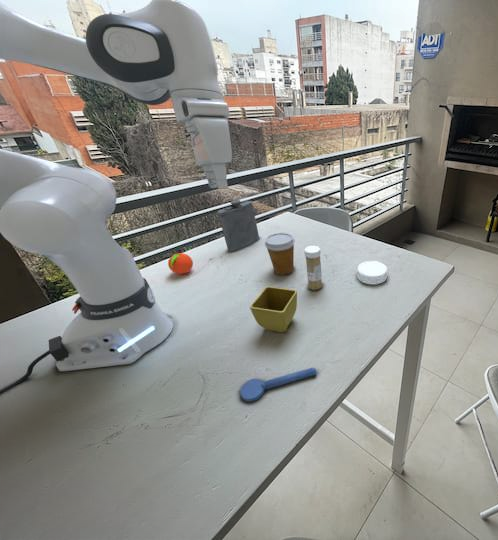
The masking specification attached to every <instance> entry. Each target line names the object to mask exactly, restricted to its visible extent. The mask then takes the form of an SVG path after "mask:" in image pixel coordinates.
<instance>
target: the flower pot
mask: <svg viewBox="0 0 498 540" xmlns="http://www.w3.org/2000/svg"><path fill="white" fill-rule="evenodd" d="M297 307H298V290H296V289H289V288H282V287H277V286H276V287H275V286H265V287H264V288H263V290H262V291H261V292H260V294H259V295H258V296H257V298H255V300H254V301H253V302H252V303H251V304H250V306H249V309H250V311H251V314H252V315H253V317H254V319H255V322H256V323H257V324H258V325H259V326H260V327H262V328H263V329H265V330H267V331H273V332H277V333H278V332H279V333H285V332H286V330H287V329H288V327H289V325H290V323H291V322H292V321H293V318H294V316H295V315H296V311H297Z"/></svg>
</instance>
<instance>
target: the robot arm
mask: <svg viewBox="0 0 498 540" xmlns="http://www.w3.org/2000/svg"><path fill="white" fill-rule="evenodd" d="M0 60H5V61H11V62H16V63H17V62H18V63H23V64H27V65H28V64H29V65H33V66H36V67H40V68H44V69H48V70H53V71H56V72H60V73H63V74H67V75H71V76H75V77H78V78H81V79H86V80H90V81H94V82H96V83H101V84H104V85H106V86H109V87H112V88H113V89H116V90H117V91H119V92H121V93H122V94H124V95H126V96H127V97H128V98H130V99H131V100H134V101H135V102H137V103H141V104H144V105H148V106H159V105H162V104H164V103H166V102H168V101H169V100H170V101H171V104H172V108H173V112H174V116H175V119H176V123H177V124H180V125H183V126H185V129H186V133H188V134H189V137H190V141H191V146H192V151H193V156H194V160H195V164H196V165H197V167H202V169H203V173H204V175H205V178H206V180H207V184H208V187H209V188H210V189H218V190H227V189H228V188H229V184H228V180H227V166H226V164H227V163H231V162H232V159H233V150H232V149H233V148H232V142H231V141H232V140H231V133H230V126H229V118H230V108H229V105H228V103H227V102H226V101H225V99H224V94H223V91H222V89H221V87H220V84H219V80H218V79H219V78H218V74H219V70H218V64H217V58H216V54H215V50H214V46H213V42H212V39H211V35H210V33H209V29H208V27H207V25H206V23H205V21H204V19H203V18H202V15H200V14H199V13H198V12H197V11H196V10H195V9H193V8H192V7H191V6H189V5H187V3H185V2H182V1H180V0H151V1H150V2H149V3H148V4H147V5H146V6H144V7H142V8H139V9H137V10H134V11H131V12H126V13H120V14H119V13H118V14H116V13H115V14H114V13H104V14H101V15H97V16H96V17H94V18H93V19H92V20H91V21H90V22H89V23H88V25H87V28H86V31H85V38H83V37H80V36H77V35H74V34H71V33H67V32H65V31H61V30H59V29H56V28H52V27H49V26H47V25H44V24H41V23H39V22H36V21H34V20H32V19H31V18H28V17H26V16H24V15H22V14H20V13H18V12H16V11H15V10H13V9H11V8H10V7H8V6H7V5H5V4H4V3H1V2H0ZM116 205H117V190H116V188H115V186H114V185H113V183H112V182H111V181H110V180H109V178H107V177H106V176H105V175H103V174H102V173H99V172H98V171H95V170H94V169H93V170H92V169H90V168H85V167H84V168H83V167H76V166H75V167H74V166H69V165H66V164H61V163H58V162H53V161H51V160H46V159H43V158H39V157H35V156H31V155H28V154H23V153H19V152H15V151H11V150H8V149H4V148H0V234H1V235H2V237H3V238H4V239H5V240H7V241H8V243H10V244H11V245H13V246H15V247H16V248H18V249H20V250H22V251H25V252H28V253H31V254H34V255H40V256H43V257H45V258H46V259H48V260H49V261H50V262H52V263H53V264H54V265H55V266H56V267H58V268H59V269H60V270H61V271H62V273H63V274H64V275H65V276H66V277H67V279H68V280H69V282H70V283H71V284H72V286H73V287H74V289H75V290H76V292H77V293H78V295H79V297H78V298H77V299H76V300H75V302H74V303H75V304H74V306H73V307H72V309H71V312H72V311H73V314H77V313H78V311H80V312H79V313H78V314H77V315H76V316H75V317H74V318H73V319H72V320H71V321H70V322H69V323H68V325H67V326H66V327H65V329H64V331H63V333H62V335H58V336H55V337H52V338H50V339H48V350H47V351H45V352H43V354H41V355H39V356H38V357H37V358H35V359H34V360H32V362H30V364H29V365H28V366H27V370H26V373H25V374H24V375H23V376H22V377H20V378H19V379H18V380H16V381H14V382H13V383H11V384H10V385H8V386H6V387H4V388H2V389H0V395H2V394H3V393H5V392H7V391H9V390H10V389H12V388H14V387H16V386H18V385H20V384H21V383H23V382H25V380H27V379H28V378H30V376H31V375H32V373H33V370H34V368H35V366H36V365H37V364H38V363H39V362H41V361H42V360H43V359H45V358H46V357H48V356H49V355H51V356H52V357H53V359H54V360H55V365H56V368H57V369H58V371H59V372H70V371H77V370H78V371H79V370H87V369H95V368H96V369H97V368H105V367H115V366H123V365H130V364H133V363H135V362H137V360H139V359H140V358H141V357H142V356H143V355H144V354H146V353H147V352H149V351H150V350H152V349H154V348H155V347H157V346H158V345H160V344H161V343H163V341H165V340H166V339H167V338H168V337H169V335H170V334H171V332H172V331H173V328H174V322H173V320H172V319H171V318H170V317H169V316H168V315H167V314H166V313H165V312H164V311H163V310H162V308H161V307H160V305H159V304H158V302H157V301H156V296H155V294H154V291H153V289H152V288H151V286H150V284H149V283H148V280H147V279H146V278H144V277H143V275H142V273H141V271H140V268H139V267H138V265H137V263H136V261H135V259H134V256H133V254H132V252H131V251H130V250H129V249H127V248H126V247H124V246H121V245H120V244H119V243H118V242H117V241H116V240H115V238H113V236H112V235H111V234H110V232H109V230H108V228H107V223H106V222H107V220H108V219H109V217H110V216H111V215H112V214H113V213H114V211H115V209H116Z"/></svg>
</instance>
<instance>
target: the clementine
mask: <svg viewBox="0 0 498 540" xmlns="http://www.w3.org/2000/svg"><path fill="white" fill-rule="evenodd" d="M167 262H168V263H167V265H168V268H169V270H170V271H172V272H173V273H175V274H177V275H183V274H188V273H189V272H190V271H191V270H192V268H193V267H194V261H193V259H192V257H191V256H190V255H188V254H186V253H183V252H177V253H174V254H172V255H171V256H170V257H169V258H168V261H167Z"/></svg>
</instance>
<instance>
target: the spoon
mask: <svg viewBox="0 0 498 540" xmlns="http://www.w3.org/2000/svg"><path fill="white" fill-rule="evenodd" d="M316 374H317V369H316V368H315V367H310V368H306V369H303V370H299V371H296V372H292V373H288V374H285V375H282V376H278V377H275V378H272V379H268V380H265V381H263V380H262V379H259V378H253V379H249V380H247V381H246V382H245V383H243V384H242V386H241V387H240V392H239V394H240V396H241V399H242V400H243V401H244V402H247V403H249V402H250V403H251V402H255V401H258V400H259V399H260V398H261V397H262V396H263V395H264V393H265V390H268V389H272V388H275V387H276V388H277V387H279V386H283V385H287V384H290V383H292V382H296V381H299V380H302V379H306V378H309V377H313V376H315V375H316Z"/></svg>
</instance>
